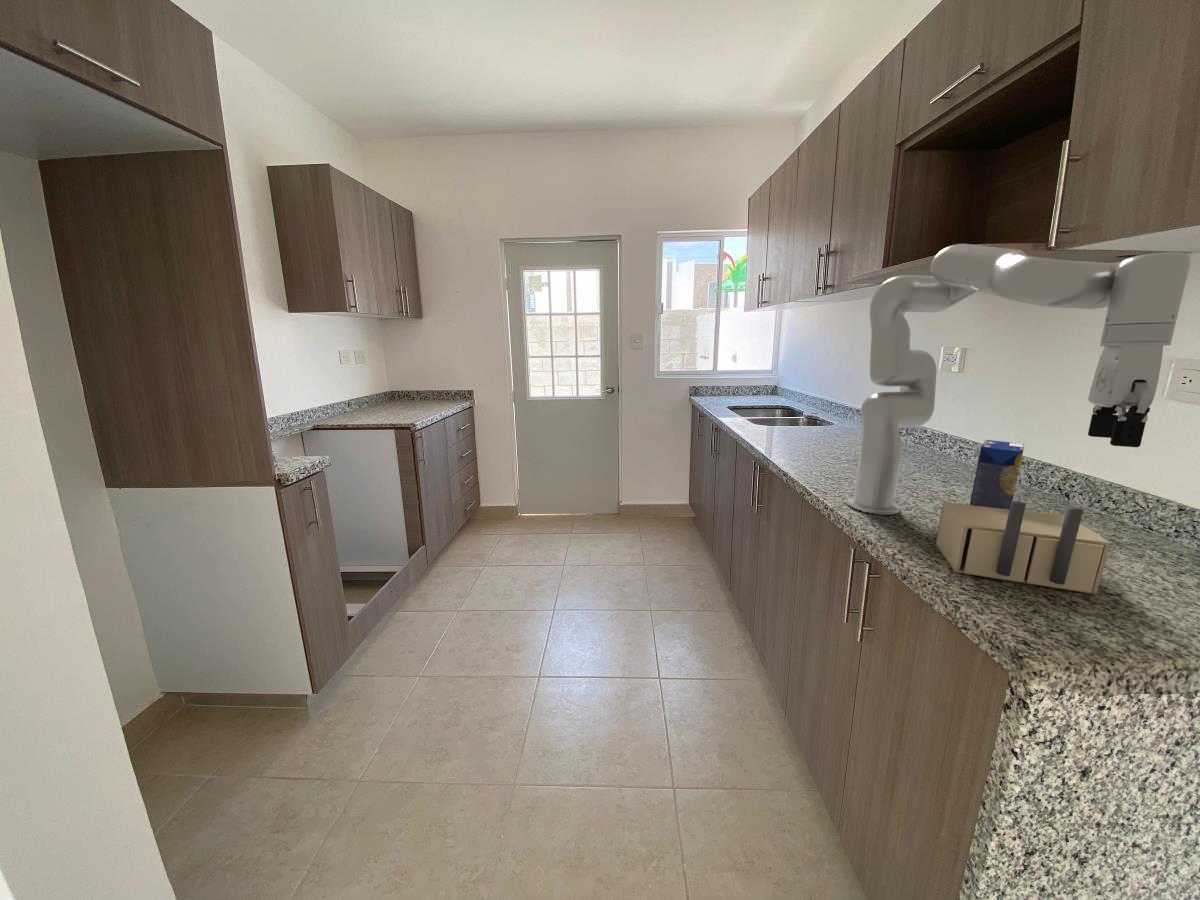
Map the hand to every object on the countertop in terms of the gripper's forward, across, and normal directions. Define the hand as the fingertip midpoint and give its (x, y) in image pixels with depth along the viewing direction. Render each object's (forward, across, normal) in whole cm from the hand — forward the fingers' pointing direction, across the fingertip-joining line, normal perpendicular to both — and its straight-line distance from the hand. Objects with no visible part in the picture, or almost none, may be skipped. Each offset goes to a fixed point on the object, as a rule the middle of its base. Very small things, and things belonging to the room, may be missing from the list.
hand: (1111, 441), depth 77 cm
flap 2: (+27, +1, -2) cm, 28 cm away
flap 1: (+27, +2, -12) cm, 30 cm away
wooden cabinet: (+28, -7, -8) cm, 30 cm away
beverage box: (+28, -23, -10) cm, 37 cm away
